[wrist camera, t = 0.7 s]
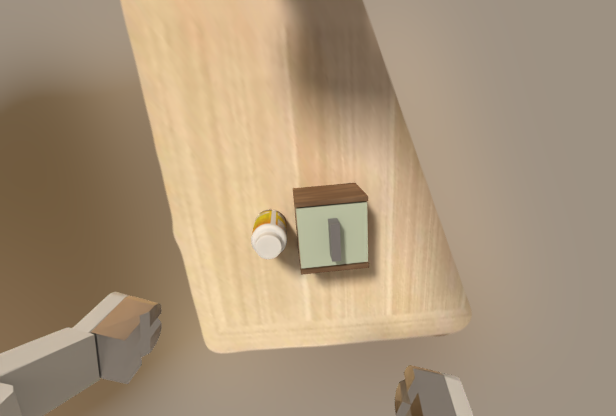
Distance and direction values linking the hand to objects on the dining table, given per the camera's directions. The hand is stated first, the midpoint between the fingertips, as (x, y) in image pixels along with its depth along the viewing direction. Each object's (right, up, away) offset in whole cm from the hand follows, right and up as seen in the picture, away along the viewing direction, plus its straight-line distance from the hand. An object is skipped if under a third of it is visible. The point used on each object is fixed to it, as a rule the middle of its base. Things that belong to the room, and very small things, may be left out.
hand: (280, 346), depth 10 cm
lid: (+5, 0, +39) cm, 39 cm away
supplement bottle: (-6, +2, +46) cm, 46 cm away
